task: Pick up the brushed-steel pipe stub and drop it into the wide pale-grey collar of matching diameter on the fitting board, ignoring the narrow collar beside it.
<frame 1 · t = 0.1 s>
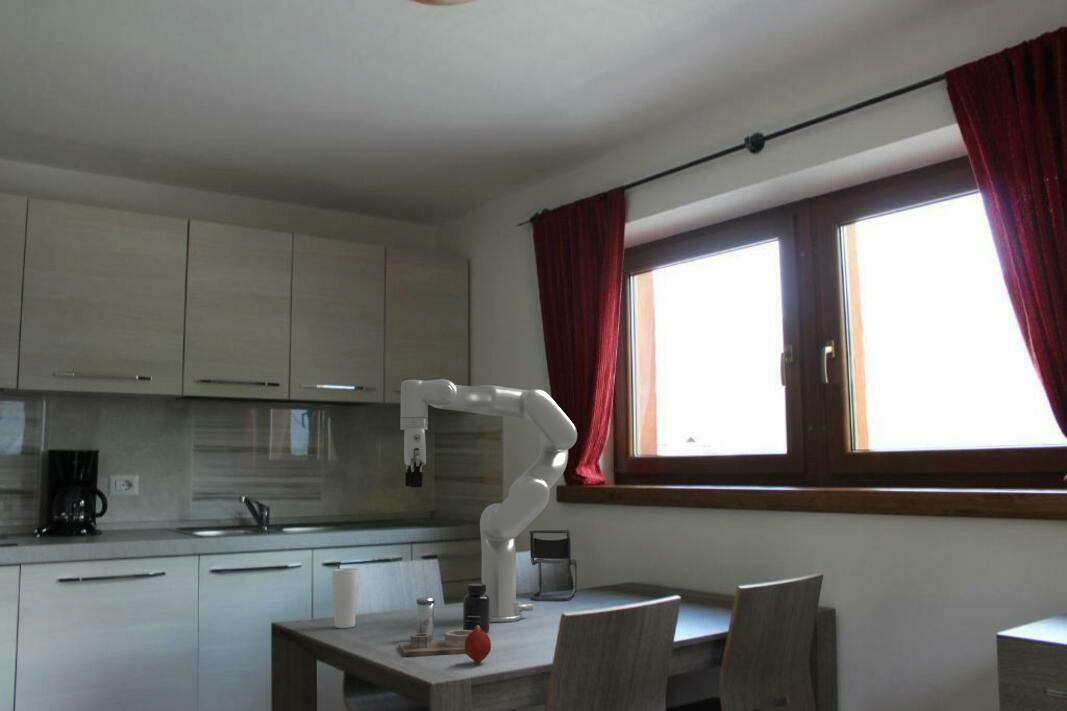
hand: (413, 486, 256), 37 cm above the table, tool pointing down, fingers open, 9 cm apart
pipe stub: (425, 639, 229), on the table
fitting board: (442, 649, 217), on the table
supplement bottle: (476, 633, 238), on the table
chair: (553, 597, 298), on the table
onion: (477, 664, 202), on the table
drinking glass: (344, 627, 247), on the table
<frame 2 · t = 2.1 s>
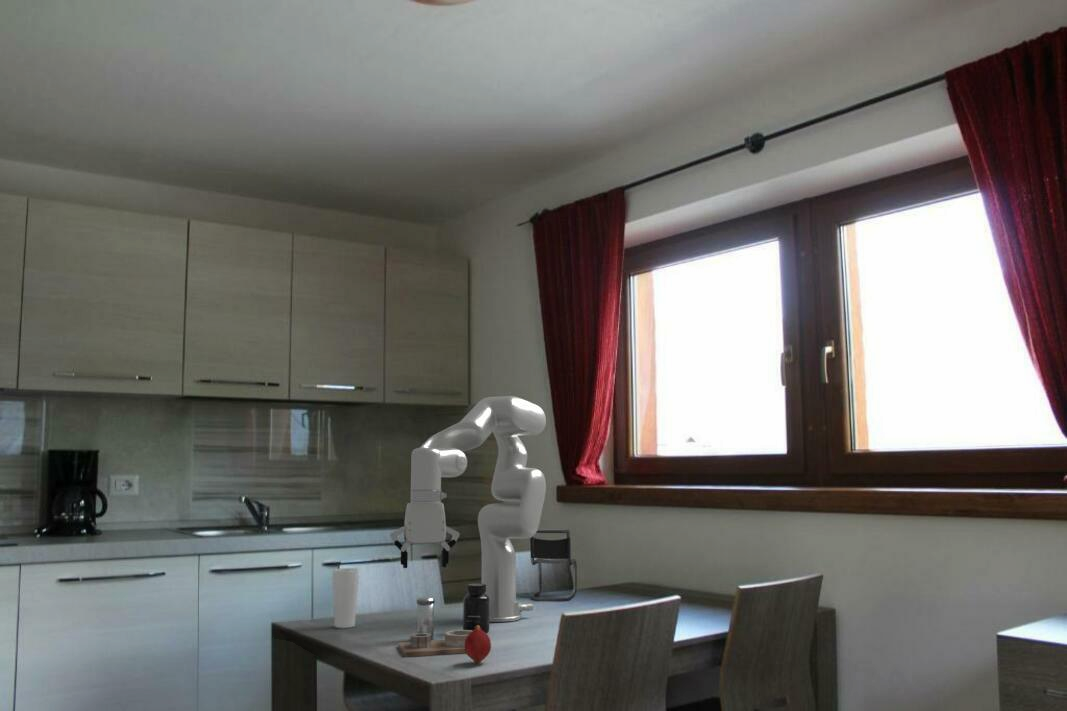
hand: (424, 567, 231), 18 cm above the table, tool pointing down, fingers open, 9 cm apart
nothing on the table moved.
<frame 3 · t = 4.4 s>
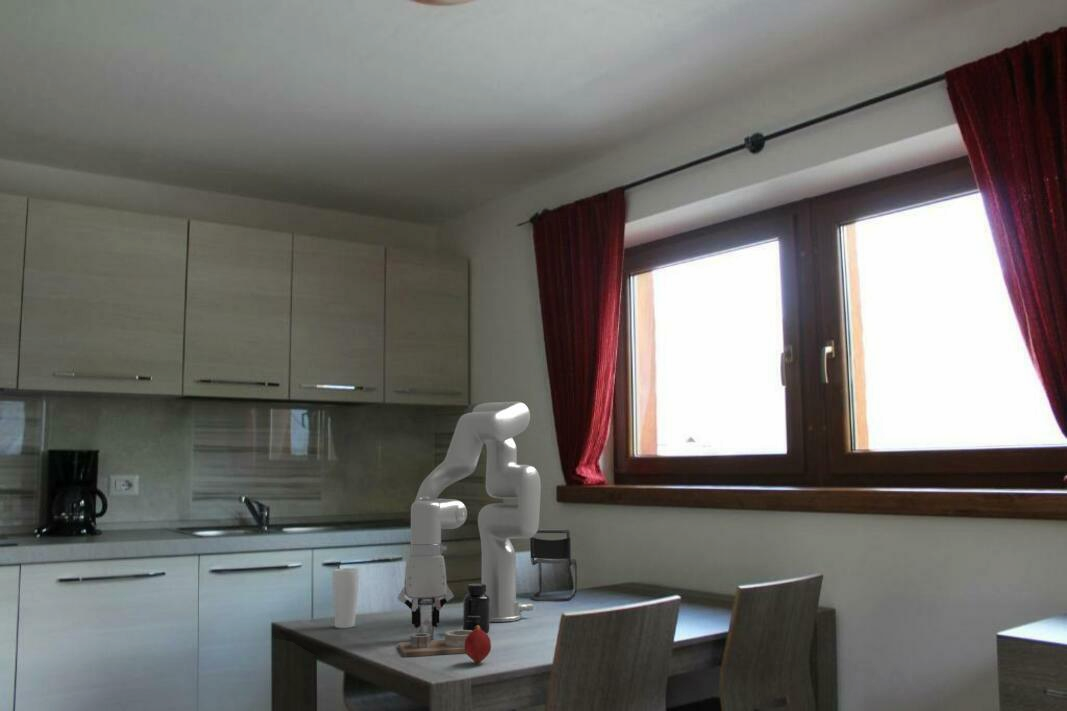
hand: (425, 625, 229), 3 cm above the table, tool pointing down, fingers closed on pipe stub, 4 cm apart
pipe stub: (425, 639, 229), on the table, touching gripper
everything else where it was.
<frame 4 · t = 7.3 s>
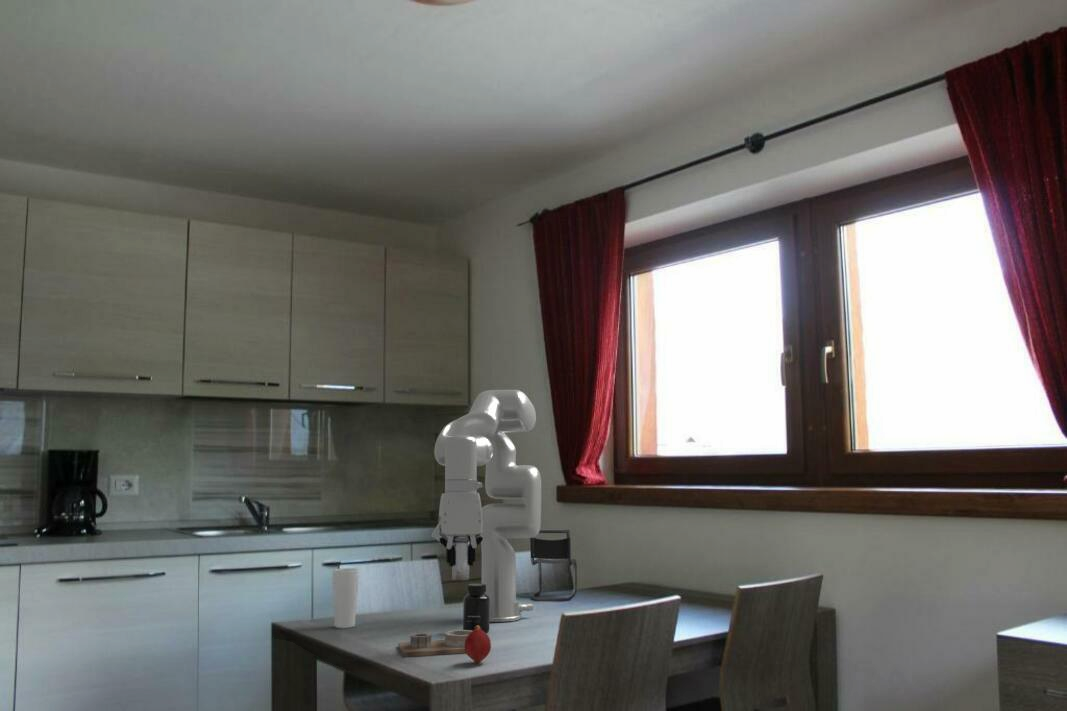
hand: (460, 564, 220), 19 cm above the table, tool pointing down, fingers closed on pipe stub, 4 cm apart
pipe stub: (460, 579, 220), point 16 cm above the table, touching gripper
everything else where it was.
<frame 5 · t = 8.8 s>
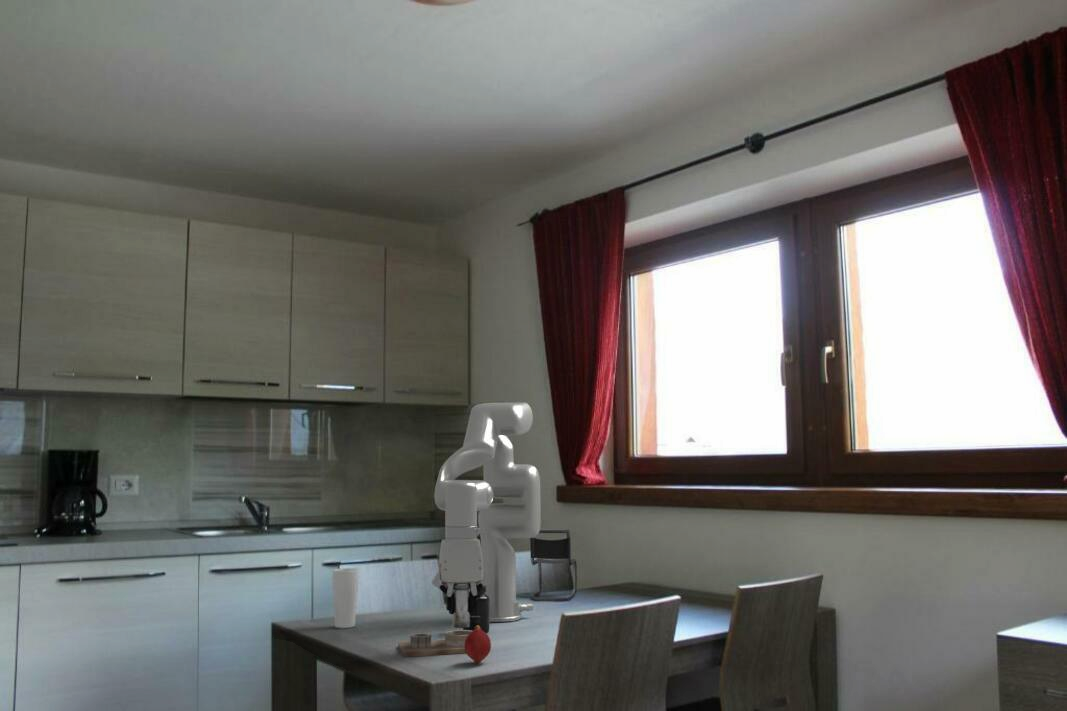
hand: (460, 612, 219), 8 cm above the table, tool pointing down, fingers closed on pipe stub, 4 cm apart
pipe stub: (460, 626, 219), point 5 cm above the table, touching gripper
everything else where it was.
when the fingers open (6 cm above the table, at t = 10.2 s): pipe stub drops 1 cm, resting on fitting board.
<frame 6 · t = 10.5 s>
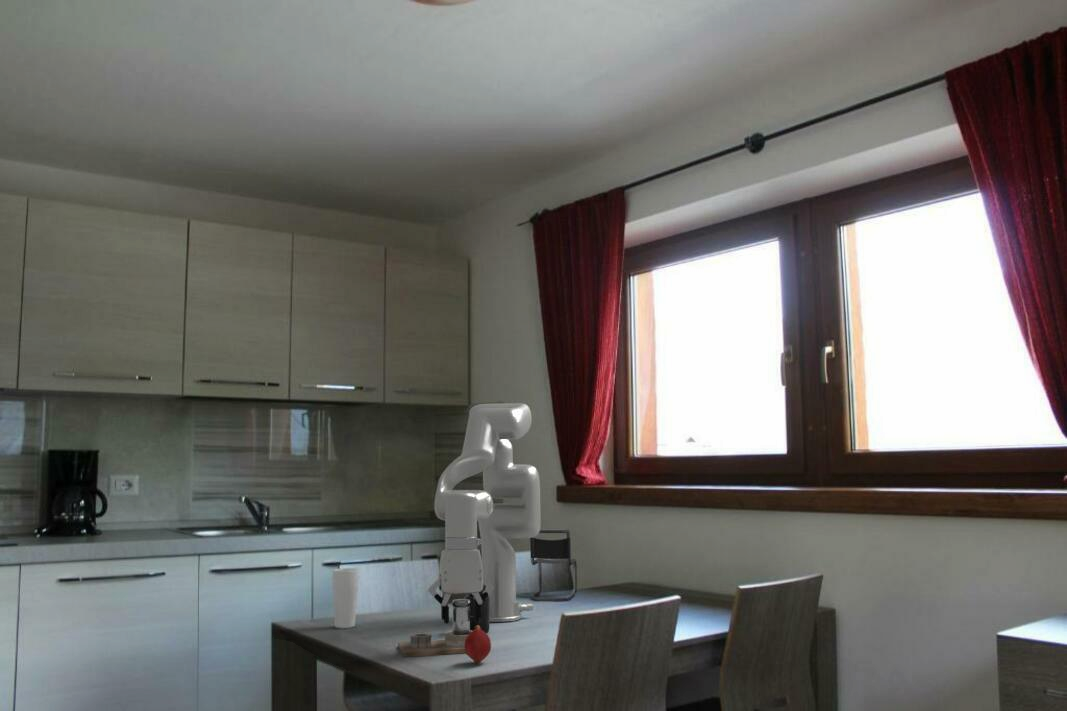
hand: (461, 621, 219), 6 cm above the table, tool pointing down, fingers open, 6 cm apart
pipe stub: (461, 643, 218), point 1 cm above the table, touching fitting board
everything else where it was.
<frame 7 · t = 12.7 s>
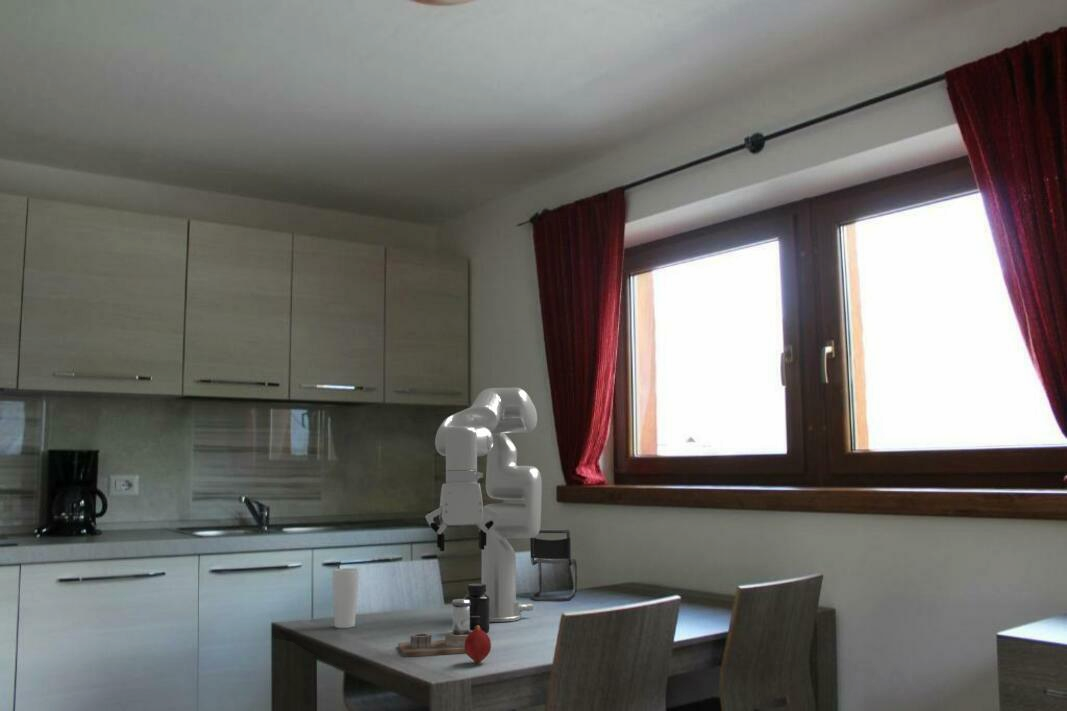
hand: (461, 549, 223), 23 cm above the table, tool pointing down, fingers open, 9 cm apart
nothing on the table moved.
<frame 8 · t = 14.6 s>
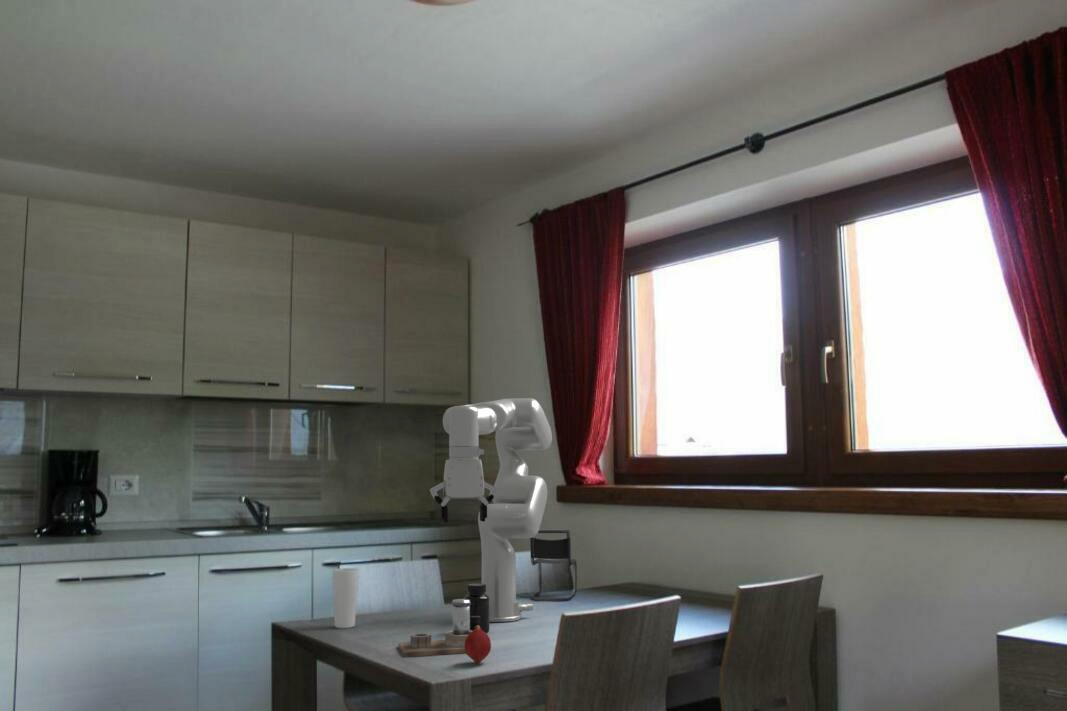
hand: (463, 521, 237), 28 cm above the table, tool pointing down, fingers open, 9 cm apart
nothing on the table moved.
at the end: pipe stub 0.0 cm from the target spot on the fitting board, point 1.0 cm above the fitting board's base; pipe stub tilted 0°; the gripper is holding nothing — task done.
